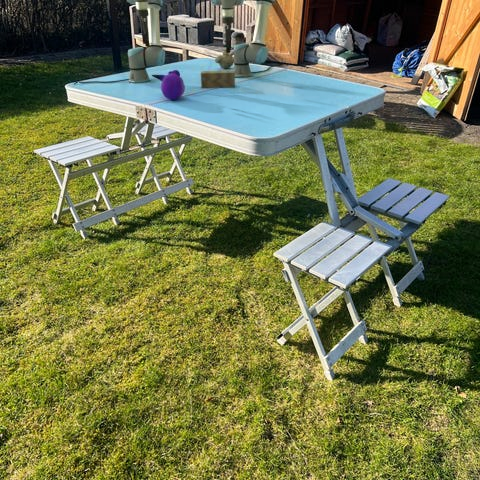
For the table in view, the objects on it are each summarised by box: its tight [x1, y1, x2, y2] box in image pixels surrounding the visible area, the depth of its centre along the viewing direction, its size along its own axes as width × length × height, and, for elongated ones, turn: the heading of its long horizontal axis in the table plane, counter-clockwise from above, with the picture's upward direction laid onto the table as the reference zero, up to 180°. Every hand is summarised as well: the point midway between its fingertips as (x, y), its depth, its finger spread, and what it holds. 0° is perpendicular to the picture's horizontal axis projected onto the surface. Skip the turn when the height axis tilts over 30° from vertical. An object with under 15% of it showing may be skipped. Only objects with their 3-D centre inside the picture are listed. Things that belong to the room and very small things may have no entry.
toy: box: [151, 69, 186, 101], centre depth 286 cm, size 16×18×27 cm
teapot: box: [214, 49, 234, 70], centre depth 375 cm, size 21×12×15 cm, turn 120°
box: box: [200, 70, 236, 89], centre depth 315 cm, size 23×8×10 cm, turn 89°
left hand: (146, 45), depth 298 cm, fingers open, 13 cm apart
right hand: (228, 51), depth 305 cm, fingers open, 13 cm apart
